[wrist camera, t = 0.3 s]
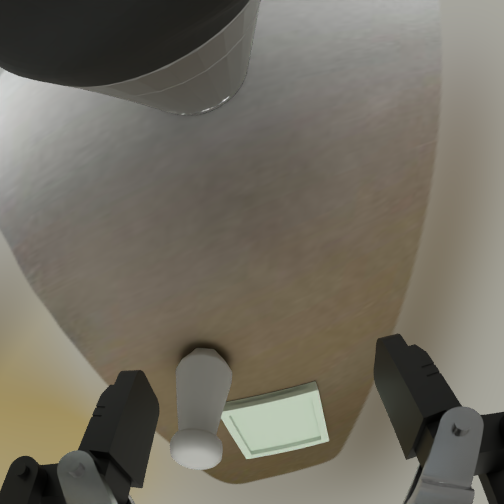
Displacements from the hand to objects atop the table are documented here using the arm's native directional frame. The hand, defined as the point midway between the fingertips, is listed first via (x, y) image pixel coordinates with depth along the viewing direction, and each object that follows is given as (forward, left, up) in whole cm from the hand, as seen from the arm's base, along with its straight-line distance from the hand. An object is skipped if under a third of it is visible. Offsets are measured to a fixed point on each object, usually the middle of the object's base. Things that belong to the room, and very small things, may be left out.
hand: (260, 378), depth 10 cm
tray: (+27, -3, -19) cm, 32 cm away
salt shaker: (+14, -8, -19) cm, 25 cm away
